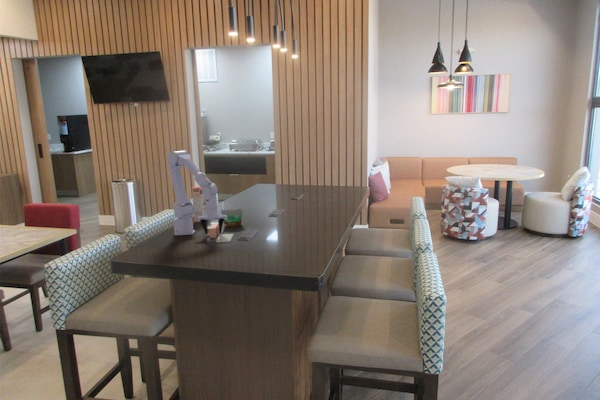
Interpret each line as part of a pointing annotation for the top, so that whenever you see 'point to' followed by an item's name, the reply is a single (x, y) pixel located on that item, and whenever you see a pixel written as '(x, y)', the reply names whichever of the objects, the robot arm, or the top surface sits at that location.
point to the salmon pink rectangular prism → (214, 230)
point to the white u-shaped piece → (218, 228)
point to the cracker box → (198, 203)
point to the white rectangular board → (224, 238)
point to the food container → (232, 217)
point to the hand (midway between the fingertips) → (213, 233)
